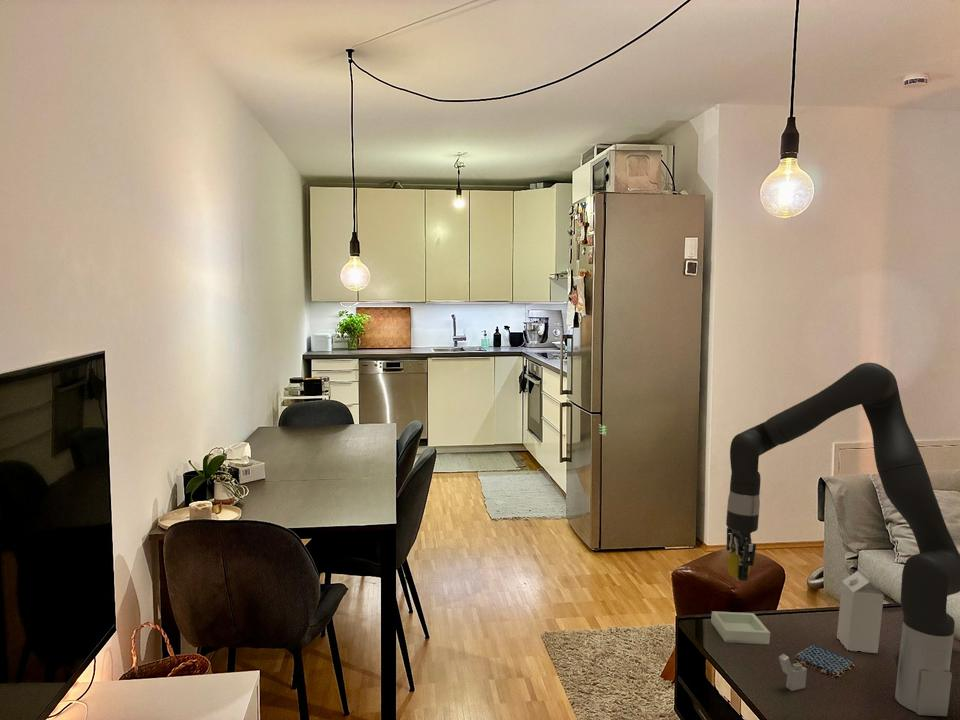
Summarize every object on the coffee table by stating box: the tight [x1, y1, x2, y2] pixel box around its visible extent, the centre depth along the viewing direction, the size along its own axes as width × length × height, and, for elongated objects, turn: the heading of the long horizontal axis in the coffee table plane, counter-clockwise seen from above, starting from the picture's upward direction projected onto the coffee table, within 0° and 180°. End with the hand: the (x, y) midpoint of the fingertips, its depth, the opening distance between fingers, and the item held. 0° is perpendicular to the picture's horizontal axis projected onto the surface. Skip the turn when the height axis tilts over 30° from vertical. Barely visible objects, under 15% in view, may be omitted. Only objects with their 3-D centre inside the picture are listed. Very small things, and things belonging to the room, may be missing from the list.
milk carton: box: [836, 566, 885, 654], centre depth 181 cm, size 7×7×19 cm
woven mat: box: [794, 643, 855, 678], centre depth 172 cm, size 10×11×2 cm
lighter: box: [778, 653, 808, 692], centre depth 159 cm, size 7×2×8 cm, turn 113°
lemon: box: [726, 551, 751, 582], centre depth 184 cm, size 6×6×8 cm
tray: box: [710, 610, 771, 645], centre depth 185 cm, size 11×11×3 cm
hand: (737, 574), depth 184 cm, fingers closed on lemon, 5 cm apart
